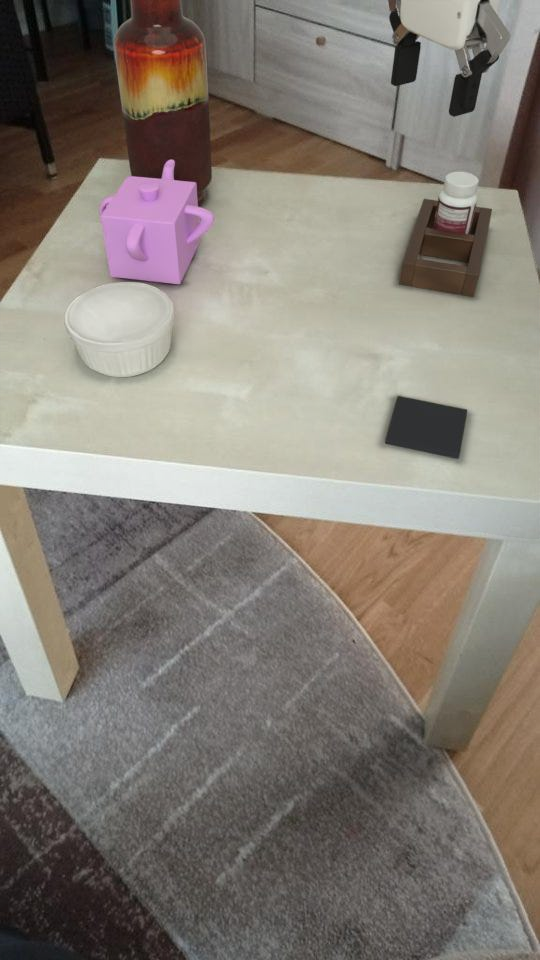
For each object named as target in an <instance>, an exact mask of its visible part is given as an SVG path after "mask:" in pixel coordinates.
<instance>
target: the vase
mask: <svg viewBox="0 0 540 960" xmlns="http://www.w3.org/2000/svg"><path fill="white" fill-rule="evenodd" d="M129 2H130V10H131V17H130V18H129V19H127V20H126V21H124V22H122V24H121V25H120V26H119V28H118V29H117V30H116V33H115V35H114V37H113V50H114V58H115V59H114V61H115V66H116V75H117V81H118V91H119V96H120V104H121V112H122V119H123V127H124V134H125V141H126V148H127V157H128V163H129V170H130V176H134V177H145V178H156V179H161V178H162V173H163V169H164V165H165V163H166V162H167V161H168V160H174V161H175V166H174V180H177V181H187V182H196V184H197V200H198V207H201V206H202V204H203V203H204V202H205V200H206V198H207V194H206V190H205V189H206V188H207V187H208V186H209V185H210V183H211V181H212V176H213V174H212V172H213V171H212V170H213V169H212V144H211V143H212V142H211V125H210V124H211V123H210V102H209V99H210V98H209V84H208V83H209V82H208V81H209V80H208V63H207V48H206V38H205V34H204V33H203V32H202V30H201V28H200V27H199V26H198V24H196V23H195V22H194V21H192V20H191V19H189V18H188V17H185V16H184V14H183V6H182V0H130V1H129Z"/></svg>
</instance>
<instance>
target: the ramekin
mask: <svg viewBox="0 0 540 960" xmlns="http://www.w3.org/2000/svg"><path fill="white" fill-rule="evenodd" d="M63 315H64V316H63V324H64V327H65V331H66V333H67V335H68V336H69V337H70V339H71V340H72V342H73V344H74V347H75V348H76V351H77V353H78V355H79V357H80V358H81V360H82V361H83V363H84V364H85V365H86V366H87V367H88V368H90V369H91V370H93V371H94V372H96V373H98V374H101V375H104V376H107V377H111V378H130V377H136V376H139V375H143V374H145V373H147V372H149V371H151V370H153V369H155V368H156V367H158V366H159V365H160V364H161V363H162V362H163V360H165V358H166V357H167V356H168V354H169V352H170V350H171V345H172V336H173V325H174V321H175V318H176V312H175V304H174V302H173V300H172V298H171V297H170V296H169V295H168V294H167V293H165V292H164V291H163V290H162V289H159V288H158V287H156V286H154V285H151V284H148V283H143V282H137V281H117V282H109V283H105V284H102V285H98V286H94V287H93V288H90V289H88V290H85V291H84V292H82V293H81V294H79V295H78V296H76V297H75V298H74V299H73V300H72V301H71V302H70V303H69V304H68V306H67V308H66V310H65V311H64V314H63Z"/></svg>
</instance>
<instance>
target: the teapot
mask: <svg viewBox="0 0 540 960" xmlns="http://www.w3.org/2000/svg"><path fill="white" fill-rule="evenodd" d="M174 166H175V161H174V160H168V161H167V162H166V163H165V165H164V169H163V173H162V178H161V179H156V178H145V177H134V176H131V175H127V176H126V178H125V179H124V180H123V182H122V184H120V187H119V188H118V190H117V191H116V192H115V194H110V195H107V196H106V197H105V198H103V199H102V201H101V202H100V204H99V207H98V213H99V216H100V221H101V228H102V233H103V238H104V240H103V241H104V245H105V246H104V247H105V251H106V257H107V264H108V270H109V275H110V277H112V278H120V279H129V280H137V281H147V282H155V283H165V284H175V285H181V283H182V282H183V279H184V277H185V275H186V272H187V270H188V269H189V266H190V265H191V262H192V259H194V258H193V257H194V256H195V253H196V251H197V249H198V247H199V245H200V243H201V237H202V236H203V235H204V234H206V233H207V232H208V231H209V230H210V229H211V228H212V226H213V224H214V222H215V216H214V213H213V212H211V211H210V210H208V209H207V208H204V207H201V206H198V200H197V184H196V182H187V181H177V180H174Z"/></svg>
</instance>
